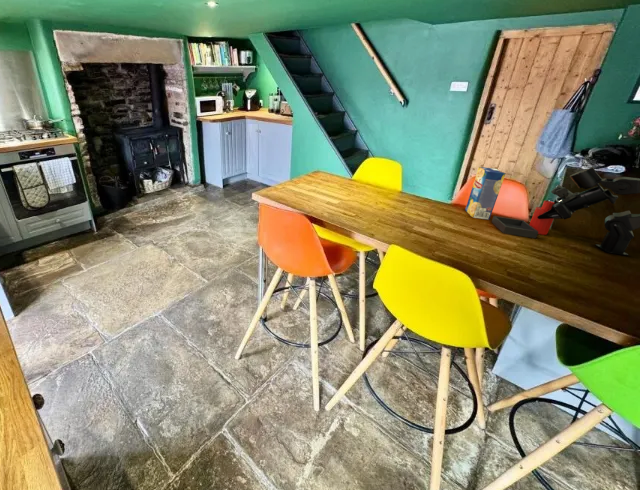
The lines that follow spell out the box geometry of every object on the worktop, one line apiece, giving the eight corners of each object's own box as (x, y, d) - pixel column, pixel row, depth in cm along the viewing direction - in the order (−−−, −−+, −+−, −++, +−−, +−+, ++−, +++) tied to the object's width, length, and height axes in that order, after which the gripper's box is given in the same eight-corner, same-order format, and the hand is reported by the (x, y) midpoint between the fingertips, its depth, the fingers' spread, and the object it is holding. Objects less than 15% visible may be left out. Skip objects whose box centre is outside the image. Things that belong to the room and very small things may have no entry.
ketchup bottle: (550, 235, 125) (563, 205, 120) (531, 232, 127) (544, 202, 122) (542, 230, 131) (554, 200, 126) (524, 227, 132) (536, 198, 128)
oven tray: (535, 238, 121) (538, 231, 120) (503, 233, 125) (505, 226, 124) (520, 226, 133) (523, 220, 132) (491, 222, 136) (493, 215, 135)
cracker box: (480, 212, 149) (495, 168, 141) (489, 219, 139) (505, 173, 131) (465, 209, 151) (478, 166, 143) (472, 217, 141) (487, 171, 133)
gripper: (573, 177, 124) (529, 195, 135) (572, 184, 112) (523, 203, 123) (592, 200, 121) (545, 217, 133) (592, 210, 109) (541, 227, 120)
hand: (538, 215), depth 127 cm, fingers open, 7 cm apart
